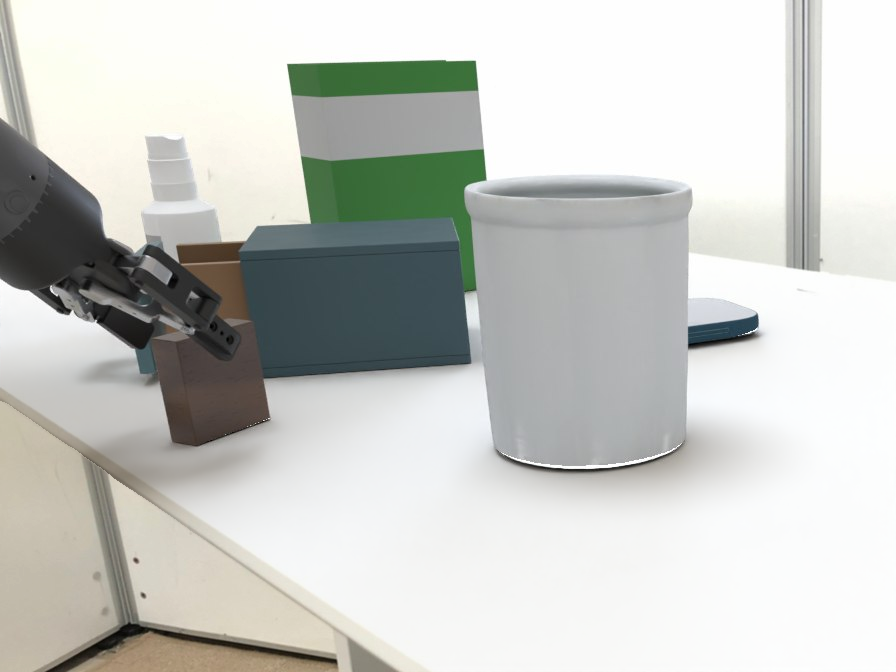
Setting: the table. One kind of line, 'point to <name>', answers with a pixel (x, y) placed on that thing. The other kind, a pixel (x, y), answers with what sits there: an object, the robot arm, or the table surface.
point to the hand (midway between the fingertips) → (188, 344)
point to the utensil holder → (583, 314)
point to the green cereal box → (390, 142)
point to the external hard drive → (718, 319)
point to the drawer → (215, 270)
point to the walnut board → (210, 386)
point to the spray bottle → (176, 198)
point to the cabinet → (356, 296)
